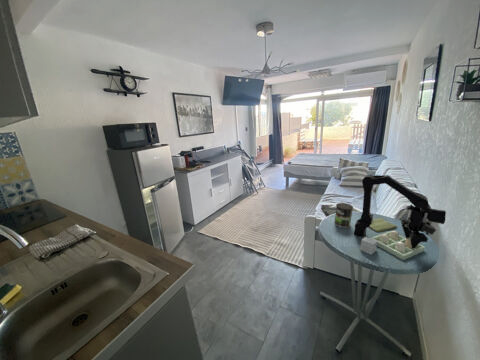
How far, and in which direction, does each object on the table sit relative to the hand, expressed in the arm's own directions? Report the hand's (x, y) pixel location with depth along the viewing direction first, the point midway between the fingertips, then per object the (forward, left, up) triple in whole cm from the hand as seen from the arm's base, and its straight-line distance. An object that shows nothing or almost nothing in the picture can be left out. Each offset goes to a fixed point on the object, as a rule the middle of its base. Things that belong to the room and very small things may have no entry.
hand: (410, 243), depth 111 cm
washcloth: (+10, +23, -5) cm, 25 cm away
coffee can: (-10, +36, -4) cm, 38 cm away
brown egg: (0, 0, -3) cm, 3 cm away
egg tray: (-4, +4, -4) cm, 7 cm away
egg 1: (-8, +8, -3) cm, 12 cm away
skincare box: (-22, +8, -4) cm, 24 cm away
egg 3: (-8, 0, -3) cm, 9 cm away
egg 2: (0, +8, -3) cm, 9 cm away
